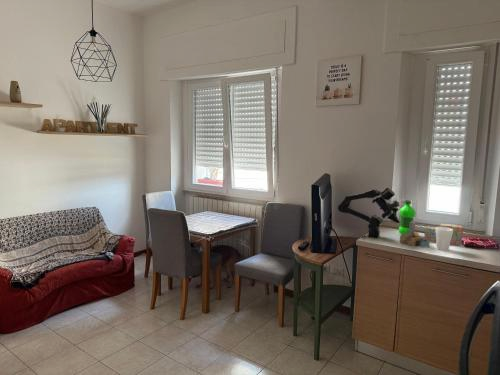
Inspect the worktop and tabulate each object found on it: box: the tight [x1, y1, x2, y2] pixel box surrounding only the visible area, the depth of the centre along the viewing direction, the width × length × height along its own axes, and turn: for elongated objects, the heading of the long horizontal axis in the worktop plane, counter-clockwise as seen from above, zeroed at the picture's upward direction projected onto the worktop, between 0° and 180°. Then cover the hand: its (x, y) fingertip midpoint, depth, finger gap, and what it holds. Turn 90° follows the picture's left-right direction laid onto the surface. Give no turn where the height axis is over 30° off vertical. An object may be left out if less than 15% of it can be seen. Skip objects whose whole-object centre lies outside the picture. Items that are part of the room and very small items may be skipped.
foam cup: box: [435, 226, 453, 252], centre depth 214 cm, size 10×9×13 cm
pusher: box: [409, 220, 416, 237], centre depth 225 cm, size 2×6×9 cm, turn 140°
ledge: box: [399, 233, 425, 247], centre depth 225 cm, size 12×10×5 cm
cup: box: [418, 239, 431, 248], centre depth 221 cm, size 6×6×4 cm
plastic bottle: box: [398, 199, 416, 236], centre depth 245 cm, size 10×10×25 cm
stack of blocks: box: [423, 223, 464, 247], centre depth 230 cm, size 21×6×12 cm, turn 66°
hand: (398, 222), depth 230 cm, fingers closed
